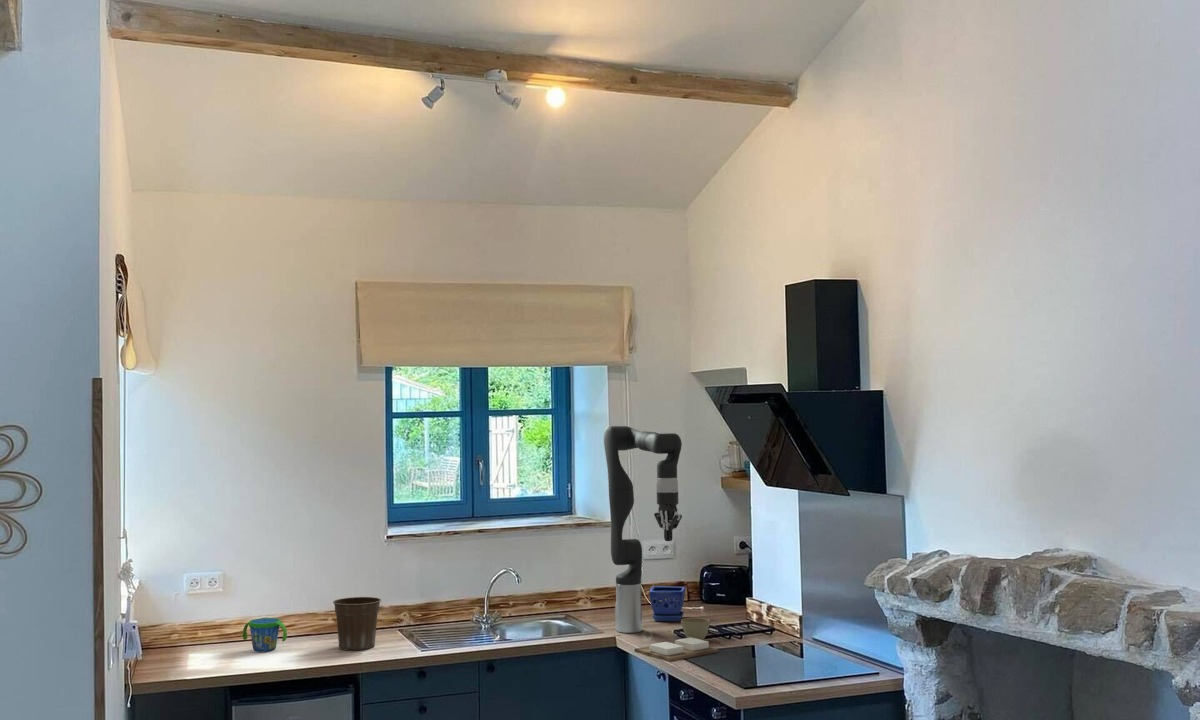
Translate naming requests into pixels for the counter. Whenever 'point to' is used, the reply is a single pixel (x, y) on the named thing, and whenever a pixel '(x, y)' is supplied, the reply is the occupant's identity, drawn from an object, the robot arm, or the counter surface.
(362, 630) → the plant pot
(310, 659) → the counter surface
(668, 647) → the tile near
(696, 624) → the flower pot
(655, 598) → the flower pot
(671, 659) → the board
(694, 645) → the tile far
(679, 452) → the robot arm
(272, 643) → the snack cup
